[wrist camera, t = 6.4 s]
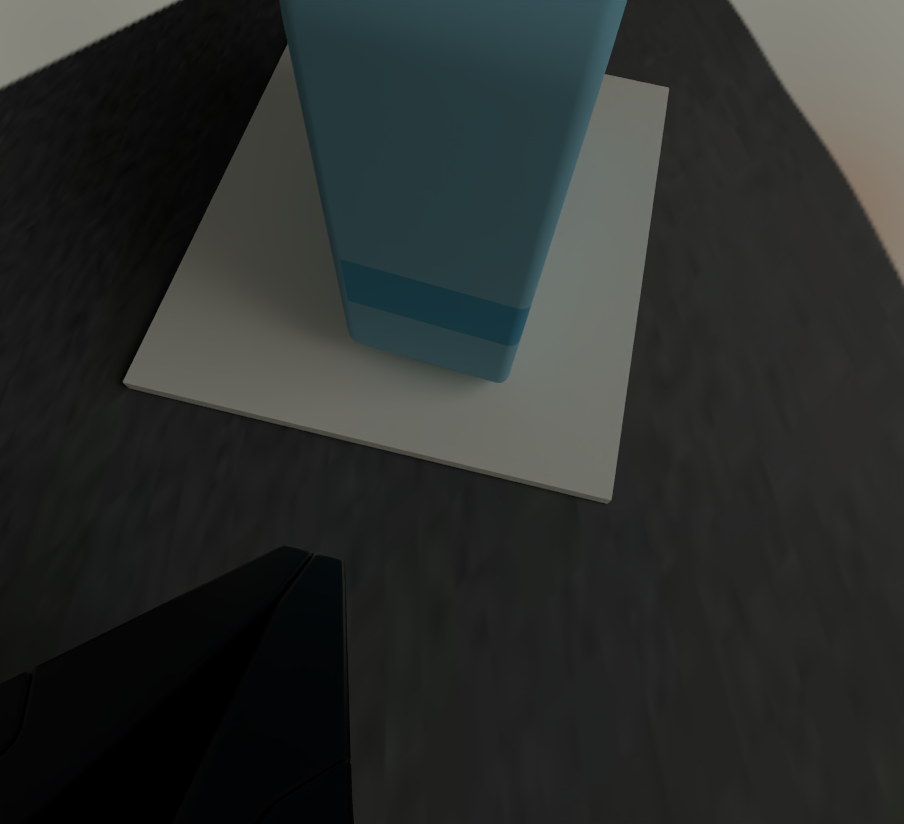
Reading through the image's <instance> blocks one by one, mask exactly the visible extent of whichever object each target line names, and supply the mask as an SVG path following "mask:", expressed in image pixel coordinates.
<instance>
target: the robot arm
mask: <svg viewBox="0 0 904 824" xmlns="http://www.w3.org/2000/svg"><path fill="white" fill-rule="evenodd" d="M350 758H351V755H350V720H349V685H348V651H347V616H346V581H345V562H344V560H343V559H341V558H337V557H333V556H329V555H326V554H322V553H317V554H314V555H313V553H312V552H311V551H310V550H306V549H303V548H299V547H295V546H291V545H282V546H279V547H277V548H275V549H273V550H271V551H269V552H267V553H265V554H263V555H261V556H259V557H257V558H255V559H253V560H251V561H249V562H247V563H245V564H243V565H241V566H239V567H237V568H235V569H233V570H231V571H229V572H227V573H225V574H223V575H221V576H219V577H217V578H215V579H213V580H211V581H209V582H207V583H205V584H203V585H201V586H199V587H196V588H194V589H192V590H190V591H188V592H186V593H184V594H182V595H180V596H178V597H176V598H174V599H172V600H170V601H168V602H166V603H164V604H162V605H160V606H158V607H156V608H154V609H152V610H150V611H148V612H146V613H144V614H142V615H140V616H138V617H136V618H134V619H132V620H130V621H128V622H126V623H124V624H122V625H120V626H118V627H116V628H114V629H112V630H110V631H108V632H105V633H103V634H101V635H99V636H97V637H95V638H93V639H91V640H89V641H87V642H85V643H83V644H81V645H79V646H77V647H75V648H73V649H71V650H69V651H67V652H65V653H63V654H61V655H59V656H57V657H55V658H53V659H51V660H49V661H47V662H45V663H43V664H41V665H39V666H37V667H35V668H34V669H33V671H32V675H31V673H30V672H24V673H22V674H20V675H18V676H16V677H14V678H12V679H10V680H8V681H6V682H4V683H2V684H0V824H354V819H353V804H352V778H351V764H350Z"/></svg>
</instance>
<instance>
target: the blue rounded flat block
mask: <svg viewBox="0 0 904 824" xmlns="http://www.w3.org/2000/svg"><path fill="white" fill-rule="evenodd" d="M626 2H627V0H280V7H281V13H282V18H283V23H284V28H285V33H286V38H287V42H288V47H289V52H290V57H291V61H292V66H293V71H294V76H295V80H296V85H297V90H298V95H299V99H300V104H301V109H302V114H303V118H304V123H305V128H306V133H307V137H308V142H309V147H310V152H311V157H312V161H313V166H314V171H315V176H316V180H317V185H318V190H319V195H320V199H321V204H322V209H323V214H324V218H325V223H326V228H327V233H328V237H329V242H330V247H331V252H332V256H333V261H334V266H335V271H336V275H337V280H338V285H339V290H340V295H341V299H342V304H343V309H344V314H345V318H346V323H347V328H348V331H349V334H350V336H351V338H352V339H353V340H354V341H355V342H357V343H360V344H363V345H367V346H370V347H374V348H377V349H381V350H384V351H388V352H391V353H395V354H398V355H402V356H405V357H409V358H412V359H416V360H419V361H423V362H426V363H429V364H433V365H436V366H440V367H443V368H447V369H450V370H454V371H457V372H461V373H464V374H468V375H471V376H475V377H478V378H482V379H485V380H489V381H492V382H496V383H502V382H504V381H505V380H507V378H508V377H509V374H510V371H511V368H512V364H513V361H514V358H515V355H516V352H517V349H518V346H519V342H520V339H521V336H522V333H523V330H524V327H525V323H526V320H527V317H528V314H529V311H530V308H531V304H532V301H533V298H534V295H535V292H536V289H537V286H538V282H539V279H540V276H541V273H542V270H543V267H544V263H545V260H546V257H547V254H548V251H549V248H550V244H551V241H552V238H553V235H554V232H555V229H556V226H557V222H558V219H559V216H560V213H561V210H562V207H563V203H564V200H565V197H566V194H567V191H568V188H569V184H570V181H571V178H572V175H573V172H574V169H575V166H576V162H577V159H578V156H579V153H580V150H581V147H582V143H583V140H584V137H585V134H586V131H587V128H588V125H589V121H590V118H591V115H592V112H593V109H594V106H595V102H596V99H597V96H598V93H599V90H600V87H601V83H602V80H603V77H604V74H605V71H606V67H607V64H608V61H609V58H610V54H611V51H612V48H613V45H614V41H615V38H616V35H617V32H618V28H619V25H620V22H621V19H622V15H623V12H624V9H625V5H626Z"/></svg>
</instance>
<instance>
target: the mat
mask: <svg viewBox="0 0 904 824" xmlns="http://www.w3.org/2000/svg"><path fill="white" fill-rule="evenodd" d="M668 92H669V88H667V87H662V86H658V85H653V84H648V83H644V82H639V81H634V80H629V79H625V78H620V77H615V76H611V75H606V74H604V77H603V80H602V83H601V87H600V90H599V93H598V96H597V99H596V102H595V106H594V109H593V112H592V115H591V118H590V121H589V125H588V128H587V131H586V134H585V137H584V140H583V143H582V147H581V150H580V153H579V156H578V159H577V162H576V166H575V169H574V172H573V175H572V178H571V181H570V184H569V188H568V191H567V194H566V197H565V200H564V203H563V207H562V210H561V213H560V216H559V219H558V222H557V226H556V229H555V232H554V235H553V238H552V241H551V244H550V248H549V251H548V254H547V257H546V260H545V263H544V267H543V270H542V273H541V276H540V279H539V282H538V286H537V289H536V292H535V295H534V298H533V301H532V304H531V308H530V311H529V314H528V317H527V320H526V323H525V327H524V330H523V333H522V336H521V339H520V342H519V346H518V349H517V352H516V355H515V358H514V361H513V364H512V368H511V371H510V374H509V377H508V378H507V380H505V381H504V382H502V383H496V382H492V381H489V380H485V379H482V378H478V377H475V376H471V375H468V374H464V373H461V372H457V371H454V370H450V369H447V368H443V367H440V366H436V365H433V364H429V363H426V362H423V361H419V360H416V359H412V358H409V357H405V356H402V355H398V354H395V353H391V352H388V351H384V350H381V349H377V348H374V347H370V346H367V345H363V344H360V343H357V342H355V341H354V340H353V339H352V338H351V336H350V334H349V331H348V328H347V323H346V318H345V314H344V309H343V304H342V299H341V295H340V290H339V285H338V280H337V275H336V271H335V266H334V261H333V256H332V252H331V247H330V242H329V237H328V233H327V228H326V223H325V218H324V214H323V209H322V204H321V199H320V195H319V190H318V185H317V180H316V176H315V171H314V166H313V161H312V157H311V152H310V147H309V142H308V137H307V133H306V128H305V123H304V118H303V114H302V109H301V104H300V99H299V95H298V90H297V85H296V80H295V76H294V71H293V66H292V61H291V57H290V52H289V47H288V44H287V46H286V48H285V50H284V52H283V54H282V57H281V59H280V61H279V63H278V65H277V67H276V69H275V71H274V73H273V75H272V77H271V79H270V81H269V83H268V85H267V87H266V89H265V91H264V93H263V95H262V98H261V100H260V102H259V104H258V106H257V108H256V110H255V112H254V114H253V116H252V118H251V120H250V122H249V124H248V126H247V128H246V130H245V132H244V134H243V137H242V139H241V141H240V143H239V145H238V147H237V149H236V151H235V153H234V155H233V157H232V159H231V161H230V163H229V165H228V167H227V169H226V171H225V173H224V175H223V178H222V180H221V182H220V184H219V186H218V188H217V190H216V192H215V194H214V196H213V198H212V200H211V202H210V204H209V206H208V208H207V210H206V212H205V214H204V216H203V219H202V221H201V223H200V225H199V227H198V229H197V231H196V233H195V235H194V237H193V239H192V241H191V243H190V245H189V247H188V249H187V251H186V253H185V255H184V258H183V260H182V262H181V264H180V266H179V268H178V270H177V272H176V274H175V276H174V278H173V280H172V282H171V284H170V286H169V288H168V290H167V292H166V294H165V296H164V299H163V301H162V303H161V305H160V307H159V309H158V311H157V313H156V315H155V317H154V319H153V321H152V323H151V325H150V327H149V329H148V331H147V333H146V335H145V337H144V340H143V342H142V344H141V346H140V348H139V350H138V352H137V354H136V356H135V358H134V360H133V362H132V364H131V366H130V368H129V370H128V372H127V374H126V376H125V379H124V381H123V383H124V384H125V385H126V386H127V387H128V388H130V389H134V390H139V391H143V392H147V393H151V394H155V395H159V396H163V397H168V398H172V399H176V400H180V401H184V402H188V403H192V404H197V405H201V406H205V407H209V408H213V409H217V410H221V411H225V412H230V413H234V414H238V415H242V416H246V417H250V418H254V419H259V420H263V421H267V422H271V423H275V424H279V425H283V426H287V427H292V428H296V429H300V430H304V431H308V432H312V433H316V434H321V435H325V436H329V437H333V438H337V439H341V440H345V441H350V442H354V443H358V444H362V445H366V446H370V447H374V448H378V449H383V450H387V451H391V452H395V453H399V454H403V455H407V456H412V457H416V458H420V459H424V460H428V461H432V462H436V463H440V464H445V465H449V466H453V467H457V468H461V469H465V470H469V471H474V472H478V473H482V474H486V475H490V476H494V477H498V478H502V479H507V480H511V481H515V482H519V483H523V484H527V485H531V486H536V487H540V488H544V489H548V490H552V491H556V492H560V493H565V494H569V495H573V496H577V497H581V498H585V499H589V500H593V501H598V502H602V503H606V504H608V503H609V502H610V501H611V499H612V492H613V485H614V478H615V471H616V464H617V456H618V449H619V442H620V435H621V428H622V421H623V414H624V406H625V399H626V392H627V385H628V378H629V371H630V364H631V356H632V349H633V342H634V335H635V328H636V321H637V314H638V306H639V299H640V292H641V285H642V278H643V271H644V264H645V256H646V249H647V242H648V235H649V228H650V221H651V214H652V206H653V199H654V192H655V185H656V178H657V171H658V164H659V156H660V149H661V142H662V135H663V128H664V121H665V114H666V106H667V99H668Z"/></svg>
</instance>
